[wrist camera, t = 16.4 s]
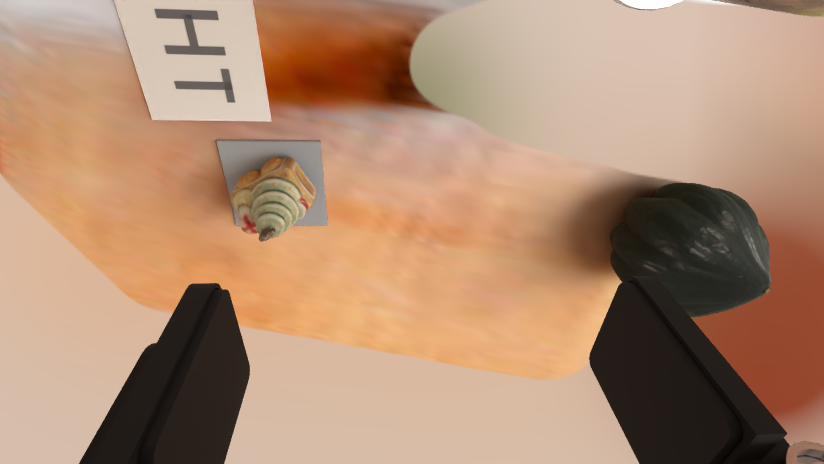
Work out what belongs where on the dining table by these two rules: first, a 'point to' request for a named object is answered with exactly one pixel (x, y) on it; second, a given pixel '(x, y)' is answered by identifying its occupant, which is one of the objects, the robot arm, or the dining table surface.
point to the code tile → (197, 58)
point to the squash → (694, 247)
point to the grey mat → (256, 153)
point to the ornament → (272, 197)
